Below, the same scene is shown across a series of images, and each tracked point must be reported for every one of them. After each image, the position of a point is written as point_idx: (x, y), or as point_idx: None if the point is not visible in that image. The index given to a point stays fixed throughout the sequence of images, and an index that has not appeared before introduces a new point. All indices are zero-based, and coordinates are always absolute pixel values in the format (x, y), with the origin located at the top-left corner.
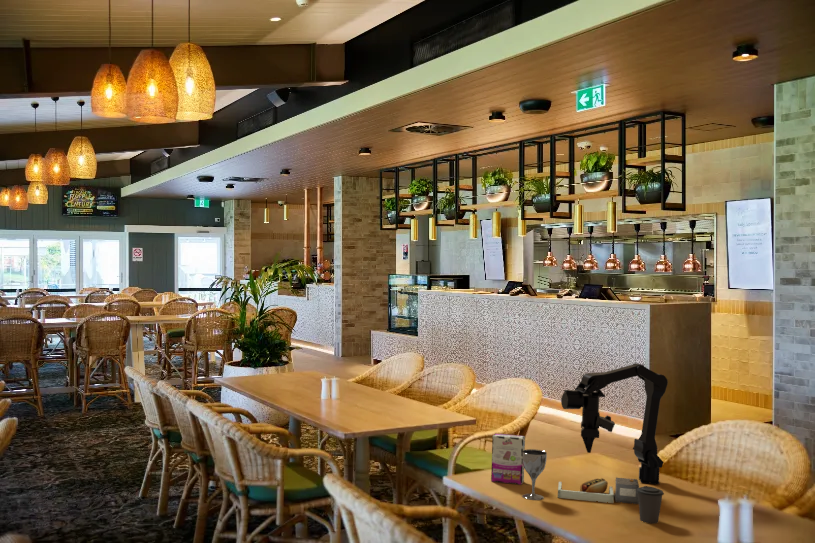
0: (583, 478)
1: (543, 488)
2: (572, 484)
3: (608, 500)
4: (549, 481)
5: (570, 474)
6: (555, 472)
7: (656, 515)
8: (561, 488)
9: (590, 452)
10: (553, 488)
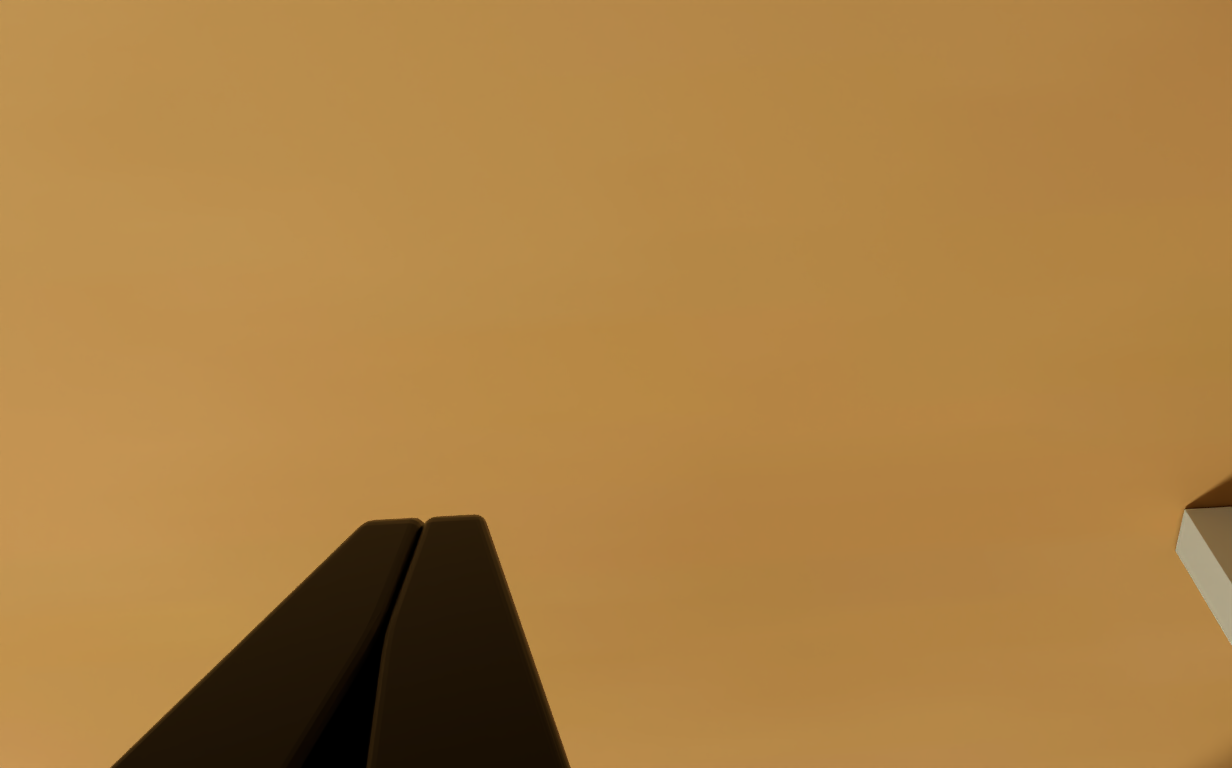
0: (162, 198)
1: (1196, 729)
2: (775, 365)
3: None
4: (725, 696)
5: (19, 452)
6: (69, 670)
7: None
8: (1212, 518)
9: (479, 519)
10: (1163, 615)
